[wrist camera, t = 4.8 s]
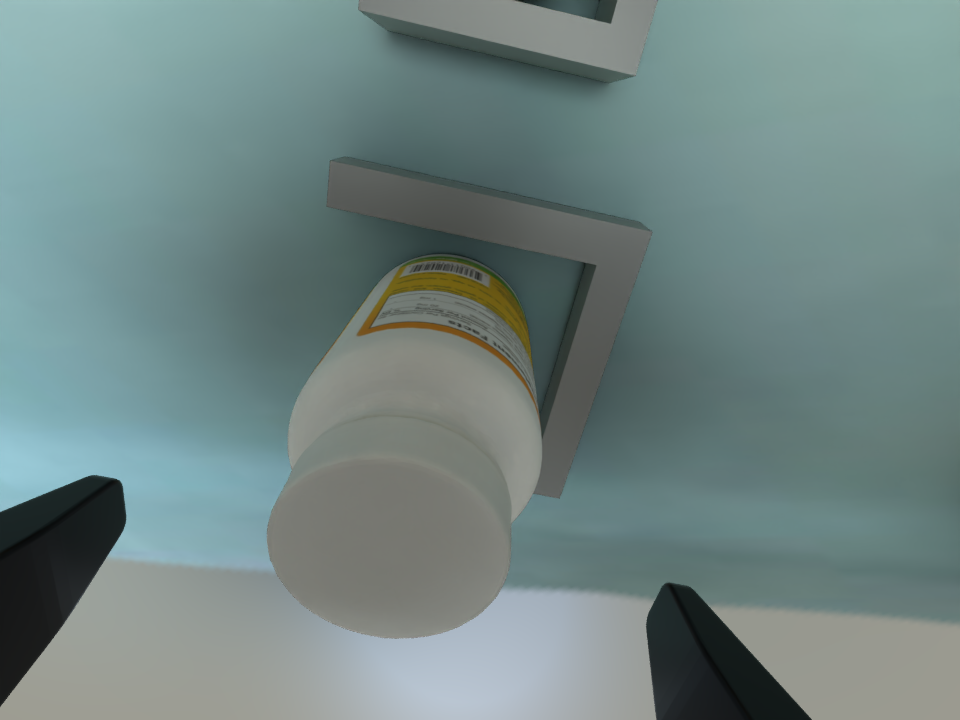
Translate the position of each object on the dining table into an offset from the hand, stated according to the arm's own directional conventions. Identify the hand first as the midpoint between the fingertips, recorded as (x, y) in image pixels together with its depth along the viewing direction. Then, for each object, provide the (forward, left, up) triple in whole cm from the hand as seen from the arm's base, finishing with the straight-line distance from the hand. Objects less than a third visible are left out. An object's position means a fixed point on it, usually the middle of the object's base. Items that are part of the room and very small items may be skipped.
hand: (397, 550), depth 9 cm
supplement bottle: (0, 0, -10) cm, 10 cm away
